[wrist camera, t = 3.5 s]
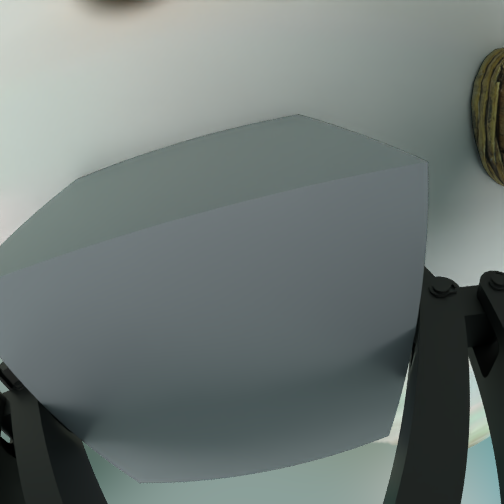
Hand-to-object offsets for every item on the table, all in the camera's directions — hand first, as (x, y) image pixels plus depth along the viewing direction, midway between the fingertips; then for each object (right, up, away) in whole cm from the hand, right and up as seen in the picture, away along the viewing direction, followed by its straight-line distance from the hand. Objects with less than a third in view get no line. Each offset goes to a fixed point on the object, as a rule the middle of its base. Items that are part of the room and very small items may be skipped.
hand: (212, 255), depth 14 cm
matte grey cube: (0, 0, +1) cm, 1 cm away
